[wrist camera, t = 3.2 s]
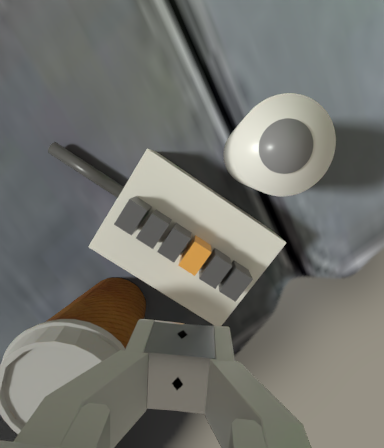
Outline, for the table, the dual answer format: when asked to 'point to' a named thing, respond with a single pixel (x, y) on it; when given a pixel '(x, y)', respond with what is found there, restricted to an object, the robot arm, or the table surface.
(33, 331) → the disposable coffee cup
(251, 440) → the robot arm
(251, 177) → the white hollow cylinder
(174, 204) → the power strip
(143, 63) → the table surface
